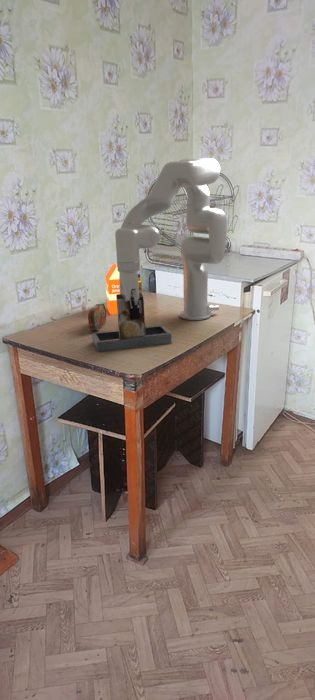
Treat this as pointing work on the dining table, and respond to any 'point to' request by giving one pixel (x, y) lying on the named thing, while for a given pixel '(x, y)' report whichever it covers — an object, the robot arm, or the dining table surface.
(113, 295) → the orange juice
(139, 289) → the condiment
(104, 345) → the dark grey tray
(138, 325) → the coffee box
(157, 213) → the robot arm
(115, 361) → the dining table surface
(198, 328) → the dining table surface
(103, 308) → the tin
